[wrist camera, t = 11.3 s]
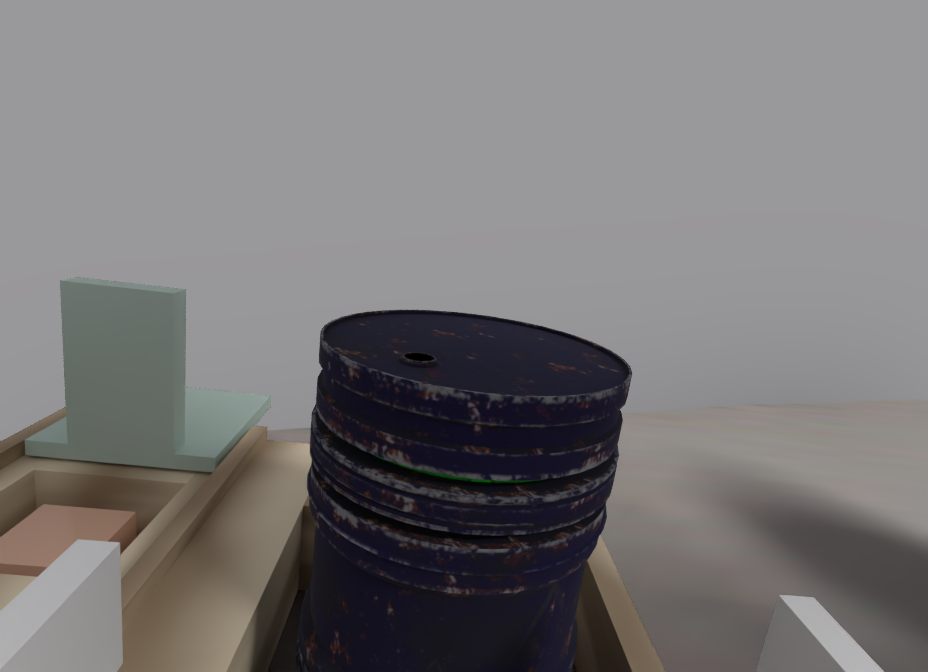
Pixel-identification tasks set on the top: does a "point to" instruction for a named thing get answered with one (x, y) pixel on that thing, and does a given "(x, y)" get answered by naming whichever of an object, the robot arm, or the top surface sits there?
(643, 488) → the top surface
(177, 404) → the cover
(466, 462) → the dark blue barrel
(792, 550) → the top surface
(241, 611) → the puzzle board
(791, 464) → the top surface
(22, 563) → the block
